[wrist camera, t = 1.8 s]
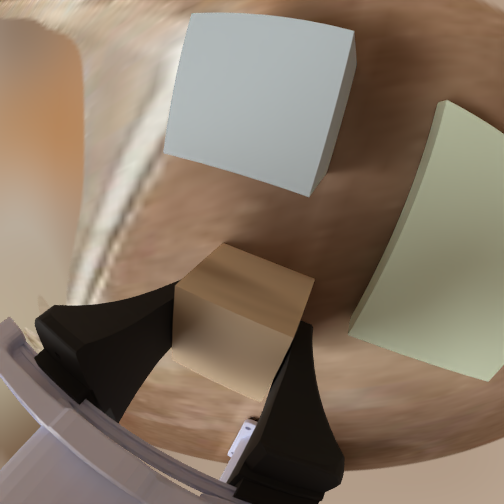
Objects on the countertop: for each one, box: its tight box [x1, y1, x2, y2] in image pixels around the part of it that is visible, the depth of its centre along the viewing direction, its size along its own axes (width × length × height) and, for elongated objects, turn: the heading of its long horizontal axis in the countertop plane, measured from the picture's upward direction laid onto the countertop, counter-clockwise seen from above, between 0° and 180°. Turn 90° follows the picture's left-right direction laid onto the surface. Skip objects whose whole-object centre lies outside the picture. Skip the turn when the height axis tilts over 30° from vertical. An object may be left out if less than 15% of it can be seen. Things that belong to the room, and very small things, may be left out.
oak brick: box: [172, 243, 315, 402], centre depth 12 cm, size 4×4×4 cm
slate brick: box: [163, 13, 357, 197], centre depth 8 cm, size 4×4×4 cm
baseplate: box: [348, 100, 504, 382], centre depth 8 cm, size 10×9×1 cm
